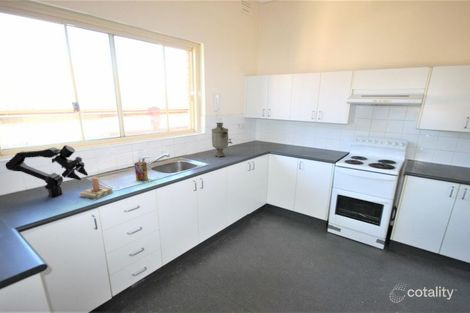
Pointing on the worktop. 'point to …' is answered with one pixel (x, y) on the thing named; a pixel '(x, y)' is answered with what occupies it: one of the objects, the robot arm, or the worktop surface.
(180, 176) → the worktop surface
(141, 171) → the candy box
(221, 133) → the samovar
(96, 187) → the terracotta peg
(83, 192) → the pocket block
